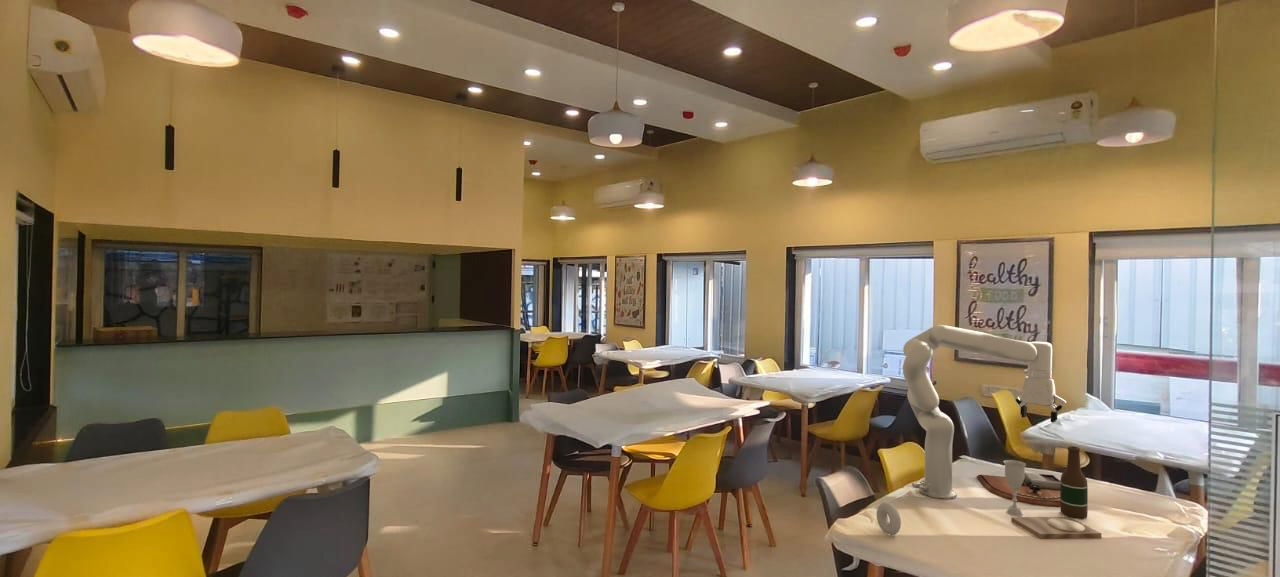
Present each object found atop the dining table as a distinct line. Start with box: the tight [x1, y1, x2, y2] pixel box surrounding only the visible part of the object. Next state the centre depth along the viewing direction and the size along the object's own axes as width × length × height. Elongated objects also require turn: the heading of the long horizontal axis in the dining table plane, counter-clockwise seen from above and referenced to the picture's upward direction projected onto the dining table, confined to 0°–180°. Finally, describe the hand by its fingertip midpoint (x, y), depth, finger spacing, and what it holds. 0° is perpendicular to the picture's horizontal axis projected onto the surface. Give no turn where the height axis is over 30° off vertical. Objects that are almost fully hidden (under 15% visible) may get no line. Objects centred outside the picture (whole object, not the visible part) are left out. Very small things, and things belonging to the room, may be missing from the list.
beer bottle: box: [1059, 445, 1089, 520], centre depth 208 cm, size 8×8×24 cm
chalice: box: [1003, 459, 1027, 517], centre depth 209 cm, size 7×7×18 cm
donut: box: [876, 501, 902, 536], centre depth 191 cm, size 10×4×10 cm, turn 14°
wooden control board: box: [976, 472, 1061, 508], centre depth 231 cm, size 31×5×30 cm
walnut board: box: [1010, 516, 1102, 540], centre depth 195 cm, size 20×14×2 cm
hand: (1038, 419), depth 223 cm, fingers open, 9 cm apart
